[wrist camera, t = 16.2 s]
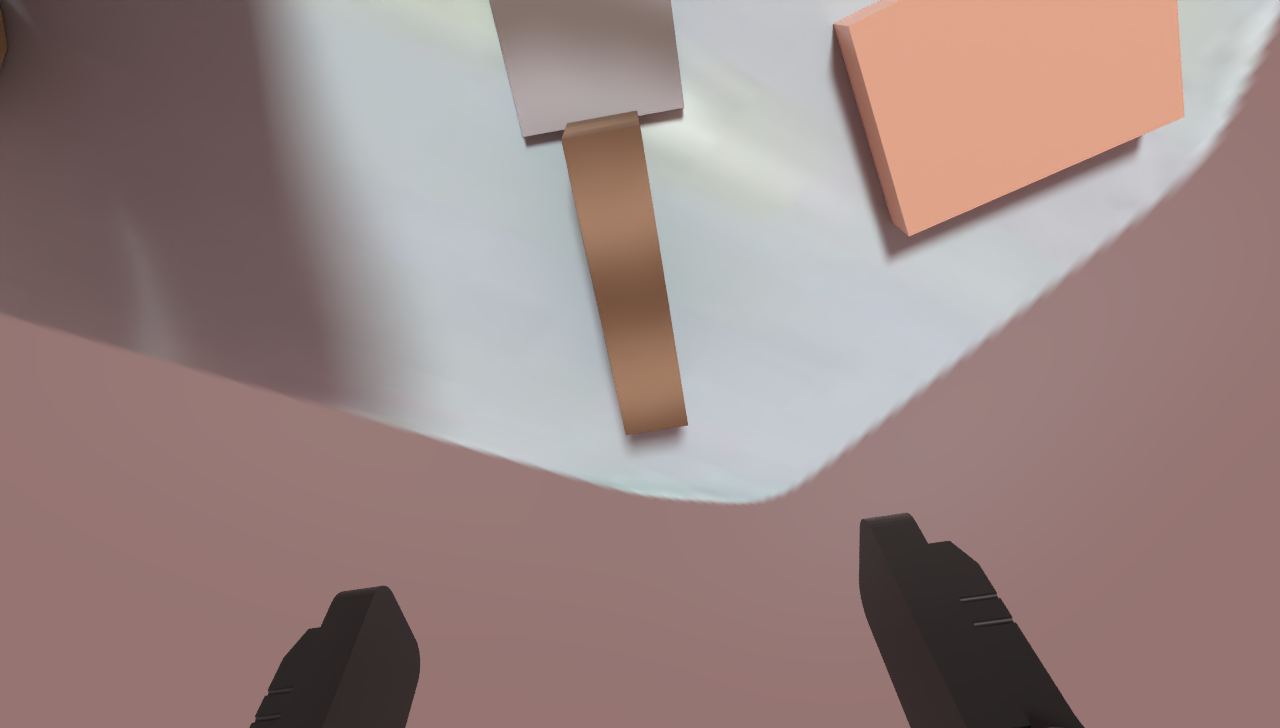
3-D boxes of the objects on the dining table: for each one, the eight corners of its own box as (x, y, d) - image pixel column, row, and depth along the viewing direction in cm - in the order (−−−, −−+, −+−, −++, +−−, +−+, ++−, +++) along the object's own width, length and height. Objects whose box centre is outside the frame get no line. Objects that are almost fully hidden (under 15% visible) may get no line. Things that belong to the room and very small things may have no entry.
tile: (908, 236, 25) (1184, 116, 24) (848, 26, 22) (1168, -136, 20) (888, 218, 27) (1140, 107, 26) (829, 23, 24) (1119, -125, 22)
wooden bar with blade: (717, 374, 30) (729, 418, 27) (588, 395, 31) (585, 441, 28) (657, -95, 22) (664, -109, 18) (478, -59, 22) (454, -67, 19)
